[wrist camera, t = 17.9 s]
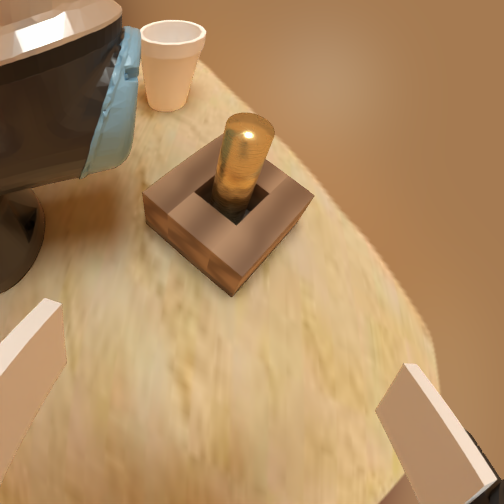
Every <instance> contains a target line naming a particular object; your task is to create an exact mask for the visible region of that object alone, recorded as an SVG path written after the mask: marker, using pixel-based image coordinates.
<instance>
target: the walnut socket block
mask: <svg viewBox="0 0 504 504" xmlns="http://www.w3.org/2000/svg"><path fill="white" fill-rule="evenodd" d="M223 135H224V133H223V134H222V135H220V136H219V137H217V138H216V139H214V140H213V141H212V142H210V143H209V144H207V145H206V146H204V147H203V148H201V149H200V150H198V151H197V152H196V153H194V154H193V155H191V156H190V157H189V158H187V159H186V160H184V161H183V162H182V163H180V164H179V165H178V166H176V167H175V168H173V169H172V170H171V171H169V172H168V173H167V174H165V175H164V176H163V177H161V178H160V179H159V180H158V181H156V182H155V183H154V184H152V185H151V186H150V187H148V188H147V189H146V190H145V191H143V192H142V194H143V202H144V210H145V217H146V223H147V224H148V225H149V226H150V227H151V228H152V229H153V230H155V231H156V232H157V233H158V234H159V235H160V236H161V237H162V238H163V239H165V240H166V241H167V242H168V243H169V244H170V245H171V246H172V247H174V248H175V249H176V250H177V251H178V252H179V253H180V254H182V255H183V256H184V257H185V258H186V259H187V260H188V261H190V262H191V263H192V264H193V265H194V266H195V267H197V268H198V269H199V270H200V271H201V272H202V273H204V274H205V275H206V276H207V277H208V278H209V279H211V280H212V281H213V282H214V283H215V284H217V285H218V286H219V287H220V288H221V289H222V290H224V291H225V292H226V293H227V294H228V295H230V296H231V297H232V296H233V295H234V294H235V293H236V292H237V291H238V290H239V288H240V287H241V286H242V285H243V284H244V283H245V282H246V280H247V279H248V278H249V277H250V276H251V275H252V274H253V273H254V271H255V270H256V269H257V268H258V267H259V266H260V265H261V263H262V262H263V261H264V260H265V259H266V258H267V257H268V255H269V254H270V253H271V252H272V251H273V250H274V249H275V247H276V246H277V245H278V244H279V243H280V242H281V241H282V239H283V238H284V237H285V236H286V235H287V234H288V232H289V231H290V230H291V229H292V228H293V227H294V226H295V224H296V223H297V222H298V220H299V219H300V217H301V216H302V214H303V213H304V211H305V210H306V208H307V206H308V205H309V203H310V202H311V200H312V199H313V197H314V195H313V194H312V193H310V192H309V191H308V190H307V189H305V188H304V187H303V186H301V185H300V184H299V183H297V182H296V181H295V180H293V179H292V178H291V177H289V176H288V175H287V174H285V173H284V172H283V171H281V170H280V169H278V168H277V167H276V166H274V165H273V164H272V163H270V162H269V161H267V160H266V159H265V161H264V164H263V166H262V169H261V172H260V174H259V177H258V180H257V182H256V185H255V187H254V190H253V193H252V195H251V198H250V201H249V203H248V206H247V209H246V211H245V214H244V217H243V219H242V221H241V222H240V223H239V224H238V225H237V226H236V225H235V224H234V223H232V222H231V221H230V220H229V219H227V218H226V217H225V216H224V215H222V214H221V213H220V212H219V211H217V210H216V209H215V208H214V207H212V206H211V205H210V199H211V194H212V189H213V184H214V179H215V174H216V169H217V164H218V159H219V154H220V149H221V145H222V140H223Z"/></svg>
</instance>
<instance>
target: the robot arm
mask: <svg viewBox="0 0 504 504" xmlns="http://www.w3.org/2000/svg"><path fill="white" fill-rule="evenodd" d="M140 58H141V32H140V30H139V29H137V28H132V27H131V26H126V27H123V28H122V7H121V6H120V5H119V4H117V3H116V2H115V1H113V0H0V293H1V292H3V291H5V290H7V289H9V288H10V287H12V286H13V285H15V284H16V283H17V282H18V281H19V280H20V279H21V278H22V277H23V276H24V275H25V274H26V273H27V271H28V270H29V269H30V267H31V266H32V264H33V262H34V261H35V259H36V257H37V255H38V253H39V250H40V247H41V244H42V241H43V237H44V231H45V217H44V212H43V209H42V206H41V204H40V202H39V200H38V199H37V197H36V195H35V193H34V192H33V191H32V189H31V188H33V187H37V186H41V185H46V184H50V183H55V182H60V181H64V180H69V179H74V178H79V179H82V178H85V177H86V176H87V175H88V174H92V173H96V172H100V171H104V170H109V169H113V168H116V167H117V166H119V165H121V164H122V163H123V162H124V161H125V160H126V159H127V157H128V156H129V154H130V151H131V148H132V143H133V135H134V127H135V117H136V106H137V94H138V78H137V77H138V75H139V65H140ZM66 364H67V358H66V350H65V340H64V328H63V312H62V303H59V302H56V301H53V300H50V299H47V298H44V299H43V300H42V301H41V302H40V303H39V304H38V305H37V306H36V307H35V308H34V309H33V310H32V311H31V312H30V313H29V314H28V315H27V316H26V317H25V318H24V319H23V320H22V321H21V322H20V323H19V324H18V325H17V326H16V327H15V328H14V329H13V330H12V331H11V332H10V333H9V334H8V335H7V337H6V338H5V339H4V340H3V341H2V342H1V343H0V485H1V483H2V481H3V479H4V476H5V474H6V472H7V470H8V468H9V466H10V464H11V462H12V460H13V458H14V456H15V454H16V452H17V450H18V448H19V446H20V444H21V442H22V440H23V438H24V436H25V434H26V432H27V430H28V429H29V427H30V425H31V423H32V421H33V419H34V418H35V416H36V414H37V412H38V411H39V409H40V407H41V405H42V403H43V402H44V400H45V398H46V397H47V395H48V393H49V392H50V390H51V388H52V386H53V385H54V383H55V381H56V380H57V378H58V377H59V375H60V373H61V372H62V370H63V368H64V367H65V365H66ZM375 412H376V414H377V416H378V418H379V420H380V422H381V424H382V426H383V428H384V430H385V432H386V434H387V436H388V438H389V440H390V442H391V444H392V446H393V448H394V450H395V452H396V454H397V456H398V459H399V461H400V463H401V465H402V467H403V469H404V471H405V473H406V475H407V478H408V480H409V482H410V484H411V486H412V488H413V491H414V493H415V495H416V497H417V499H418V501H419V503H420V504H504V480H501V478H500V477H499V476H498V474H497V473H496V471H495V470H494V468H493V466H492V465H491V463H490V462H489V460H488V459H487V457H486V456H485V454H484V453H482V450H481V448H480V447H479V446H477V442H476V441H475V439H474V438H473V437H472V435H471V434H470V433H469V432H468V431H466V430H465V429H464V428H463V427H462V425H461V424H460V423H459V421H458V419H457V418H456V417H455V415H454V414H453V412H452V411H451V410H450V408H449V407H448V405H447V404H446V403H445V401H444V400H443V398H442V397H441V396H440V394H439V393H438V392H437V390H436V389H435V388H434V386H433V385H432V384H431V382H430V381H429V379H428V378H427V377H426V375H425V374H424V373H423V372H422V370H421V369H420V368H419V366H418V365H417V364H406V363H403V365H402V367H401V369H400V371H399V372H398V374H397V376H396V377H395V379H394V381H393V382H392V384H391V386H390V387H389V389H388V391H387V392H386V394H385V396H384V397H383V399H382V400H381V402H380V403H379V405H378V406H377V408H376V409H375Z"/></svg>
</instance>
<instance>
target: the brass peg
mask: <svg viewBox="0 0 504 504" xmlns="http://www.w3.org/2000/svg"><path fill="white" fill-rule="evenodd" d="M274 135H275V131H274V128H273V126H272V125H271V123H270V122H269V121H268V120H266V119H265V118H263V117H261V116H259V115H256V114H252V113H238V114H235V115H232V116H231V117H230V118H229V119H228V120H227V122H226V126H225V131H224V135H223V140H222V145H221V149H220V154H219V159H218V164H217V169H216V174H215V179H214V184H213V189H212V194H211V199H210V205H211V206H212V207H214V208H215V209H216V210H217V211H219V212H220V213H221V214H222V215H224V216H225V217H226V218H227V219H229V220H230V221H231V222H232V223H234V224H235V225H236V226H237V225H238V224H239V223H240V222H241V221H242V219H243V217H244V214H245V211H246V209H247V206H248V203H249V201H250V198H251V195H252V193H253V190H254V187H255V185H256V182H257V180H258V177H259V174H260V172H261V169H262V166H263V164H264V161H265V159H266V156H267V153H268V151H269V148H270V146H271V143H272V140H273V138H274Z"/></svg>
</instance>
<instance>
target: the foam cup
mask: <svg viewBox="0 0 504 504" xmlns="http://www.w3.org/2000/svg"><path fill="white" fill-rule="evenodd" d="M140 32H141V63H142V70H143V76H144V83H145V89H146V95H147V99H148V104H149V106H150V107H151V108H152V109H154V110H157V111H161V112H172V111H175V110H178V109H180V108H181V107H183V106H184V105H185V102H186V99H187V96H188V93H189V89H190V85H191V82H192V78H193V75H194V72H195V68H196V65H197V62H198V58H199V55H200V52H201V51H202V48H203V46H204V42H205V36H206V31H205V30H204V28H203V27H202V26H200V25H197V24H195V23H193V22H187V21H181V20H165V21H159V22H153V23H151V24H149V25H146V26H144V27H142V28H141V30H140Z"/></svg>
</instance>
